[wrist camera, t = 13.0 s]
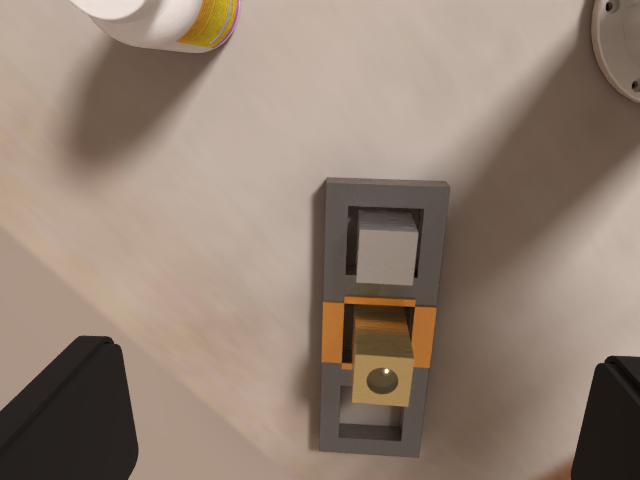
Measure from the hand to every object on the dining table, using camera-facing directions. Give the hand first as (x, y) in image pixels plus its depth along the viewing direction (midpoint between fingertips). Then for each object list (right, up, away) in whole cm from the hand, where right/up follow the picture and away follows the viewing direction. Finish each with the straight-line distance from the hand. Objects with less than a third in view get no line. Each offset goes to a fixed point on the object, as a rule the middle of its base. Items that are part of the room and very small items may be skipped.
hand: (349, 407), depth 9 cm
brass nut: (+4, -4, +31) cm, 31 cm away
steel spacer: (+4, +4, +28) cm, 29 cm away
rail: (+4, -4, +31) cm, 31 cm away
